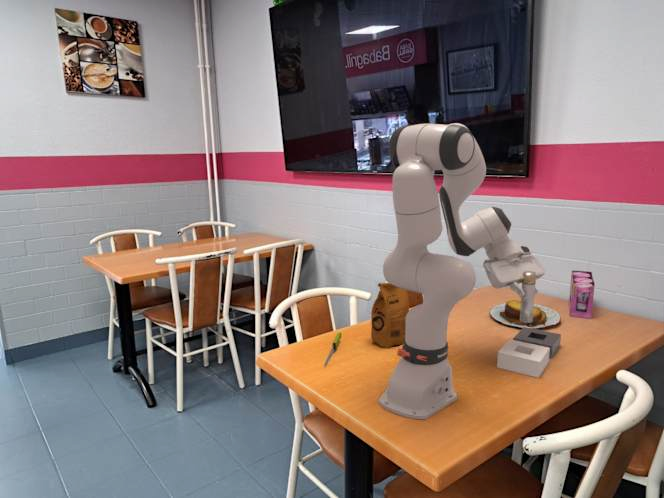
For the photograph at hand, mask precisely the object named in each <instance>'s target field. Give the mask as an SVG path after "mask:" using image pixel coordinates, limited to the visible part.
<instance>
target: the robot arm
mask: <svg viewBox="0 0 664 498" xmlns="http://www.w3.org/2000/svg"><path fill="white" fill-rule="evenodd" d="M388 153H389V154H388V155H389V158H390V160H391V163H392V165H393V167H394V169H395V170H394V171H393V173H392V184H391V186H392V202H393V209H394V214H395V215H394V216H395V221H396V227H397V228H396V229H397V242H396V245H395V248H394V249H393V250H392V251H391V252H389V253H388V254H387V256H386V258H385V259H384V261H383V265H382V274H383V277H384V279H385V281H386V283H390V284H392V285H394V286H396V287H398V288H400V289H404V290H406V291H409V292H410V291H411V292H413V293H419V294H422V295H423V300H422V303H420V304H417V305H415V306H413V307H412V308H409V311H408V313H407V315H406V318H405V340H404V343H403V344H402V347H401V348H398V349H397V352H396V355H397V356H398V357H400V359H399V360H398V363H397V364H396V366H395V368H394V370H393V372H392V374H391V376H390V378H389V380H388V384H387V387H386V389H385V390H384V391H383V393H381V396H380V397H379V399H378V404H379V405H380V406H381V407H382V408H383V409H385V410H387V411H389V412H391V413H394V414H397V415H399V416H403V417H405V418H409V419H415V420H427V419H428V418H430V417H432V416H433V415H435V414H437V413H438V412H440V411H441V410H443V409H444V408H445V407H447V406H449V405H450V404H452V403H453V402H455V401H457V400H458V394H457V393H456V392H455V391H454V385H453V384H454V383H453V368H452V366H451V365H450V362H449V361H448V356H449V345H448V344H449V343H448V341H447V337H448V336H447V335H448V333H447V332H448V323H449V318H450V314H451V312H452V310H453V308H454V307H455V305H457V304H458V303H459V302H460V301H461V300H464V299H465V298H467V297H468V296H469V295H470V294H471V292H473V290H474V288H475V285H476V276H477V275H476V272H475V269H474V267H473V265H472V264H471V263H470V262H469V261H467V260H464V259H462V258H459V257H457V256H463V257H469V256H471V255H472V254H474V253H476V252H477V251H478V250H480V249H482V248H483V249H484V250H485V254H486V256H487V258H488V259H485V260H484V262H483V263H482V264H483V265H482V267H483V268H484V270H485V274H486V276H487V279H488V281H489V282H490V284H491V286H492V287H493V288H495V289H500V288H506V287H509V288H510V289H511V290H512V291H514V293H516V294H517V295H518V296H519V298H521V297H524V296H526V295H527V293H526V292H525V290H524V289H522V287H521V286H520V284H522V273H523V271H533V272H536V281H537V280H539V279H540V278H542V277H543V276H545V272H546V271H545V268H544V266H543V265H542V264H541V262H540V261H539V259H538V258H537V257H536V256H535V255H534V254H532V253H533V250H532V249H531V247H529V246H527V245H526V246H525V245H520V244H517V243H515V242H514V241H513V240H512V238H510V237H509V236H508V234H509V233H510V230H511V228H512V227H511V226H512V222H511V221H510V220H509V218H508V216H507V215H506V214H505V212H504V211H503V209H502V208H501V207H497V206H491V207H488V208H485V209H482V210H479V211H477V212H475V213H474V214H473V215H472V216H471V217H469V218H467V219H466V220H464V221H461V217H460V208H461V206H462V205H463V203H465V201H466V200H467V199H468V198H469V197H470V196H471V195H472V194H473V193H475V191H477V190H478V189H479V188H480V186H481V185H482V183H483V182H484V179H485V178H486V174H487V166H486V161H485V158H484V155H483V152H482V150H481V147H480V145H479V144H478V142H477V140H476V138H475V137H474V135H473V134H472V132H471V130H470V129H469V128H468V127H467V126H466V125H464V124H462V123H460V122H459V123H458V122H455V123H450V124H439V123H432V122H430V123H418V124H406V125H402V126H400V127H398V128H397V127H396V129H394V130H393V132H392V133H391V136H390V138H389V142H388ZM435 171H442V173H443V174H442V175H443V182H442V185H441V187H439V189H437V184H436V180H435V178H434V177H435ZM441 210H442V211H441ZM441 212H442V213H441ZM442 215H443V219H444V222H445V227H446V233H447V234H446V235H447V241H448V244H449V246H450V248H451V250H452V251H453V252H454V253H455V254H456V255H457V256H456V257H455V256H454V255H448V254H447V255H446V254H439V253H432V252H430V251H429V249H428V246H429V245H430V244H432V243H434V242H436V241H437V240H438V239H439V237H440V236H441V234H442V232H443V228H444V227H443V221H442ZM537 293H539V289H538V288H537V286H536V283H535V294H534V295H536V294H537Z"/></svg>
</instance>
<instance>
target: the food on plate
mask: <svg viewBox="0 0 664 498" xmlns="http://www.w3.org/2000/svg"><path fill="white" fill-rule="evenodd" d="M520 307H521V300H520V301H519V300H515V299H514V300H513V299H512V300H508V301H507V302H503V303H499V304H497V305H494V306H493V307H491V308H490V309H489V314H490V315H489V316H491V318H493V320H496V321H497V322H501V323H502V324H503V325H507V326H513V327H518V328H523V327H527V328H532V329H539V328H545V327H549V326H552V325H554V326H556V325H557V324H559V325H561V319H562V317H561V314H559V313H558V312H557V311H556V310H554V309H552V308H550V307H548V306H544V305H541V304H536V303H534V308H533V322H531V323H525V322H521V321H520ZM508 322H509V323H508ZM547 332H550V329H548V331H547Z"/></svg>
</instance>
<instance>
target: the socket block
mask: <svg viewBox="0 0 664 498" xmlns="http://www.w3.org/2000/svg"><path fill="white" fill-rule="evenodd" d="M561 337H562V334H560V333H556V332H551V331H547V330H541V329H538V328H527V327H521V329H520V330H519V331H518V332H517V334H515V336H513V338H512V340H516V341H521V342H525V343H530V344H535V345H539V346H544V347H548V348H550V353H549V359H552V358H553V357H555V356H554V355H555V354H556V352H557V351H558V350H559V348H560V346H561V339H562V338H561Z"/></svg>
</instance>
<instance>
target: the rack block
mask: <svg viewBox="0 0 664 498" xmlns="http://www.w3.org/2000/svg"><path fill="white" fill-rule="evenodd" d="M549 353H550V348H548V347H544V346H539V345H535V344H530V343H525V342H521V341H516V340H513V339H509V340H507V342H506V343H505V344H504V345H503V346H502V347H501V348H500V349H499V350H498V351H497V362H496V363H497V364H496V368H499V369H501V370H502V369H503V370H506V371H510V372H514V373H517V374H521V375H525V376H528V377H529V376H530V377H533V378H537V379H539V378H541V376H542V374H543V372H545V369H546V367H548V365H549V362H550V358H549Z"/></svg>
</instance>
